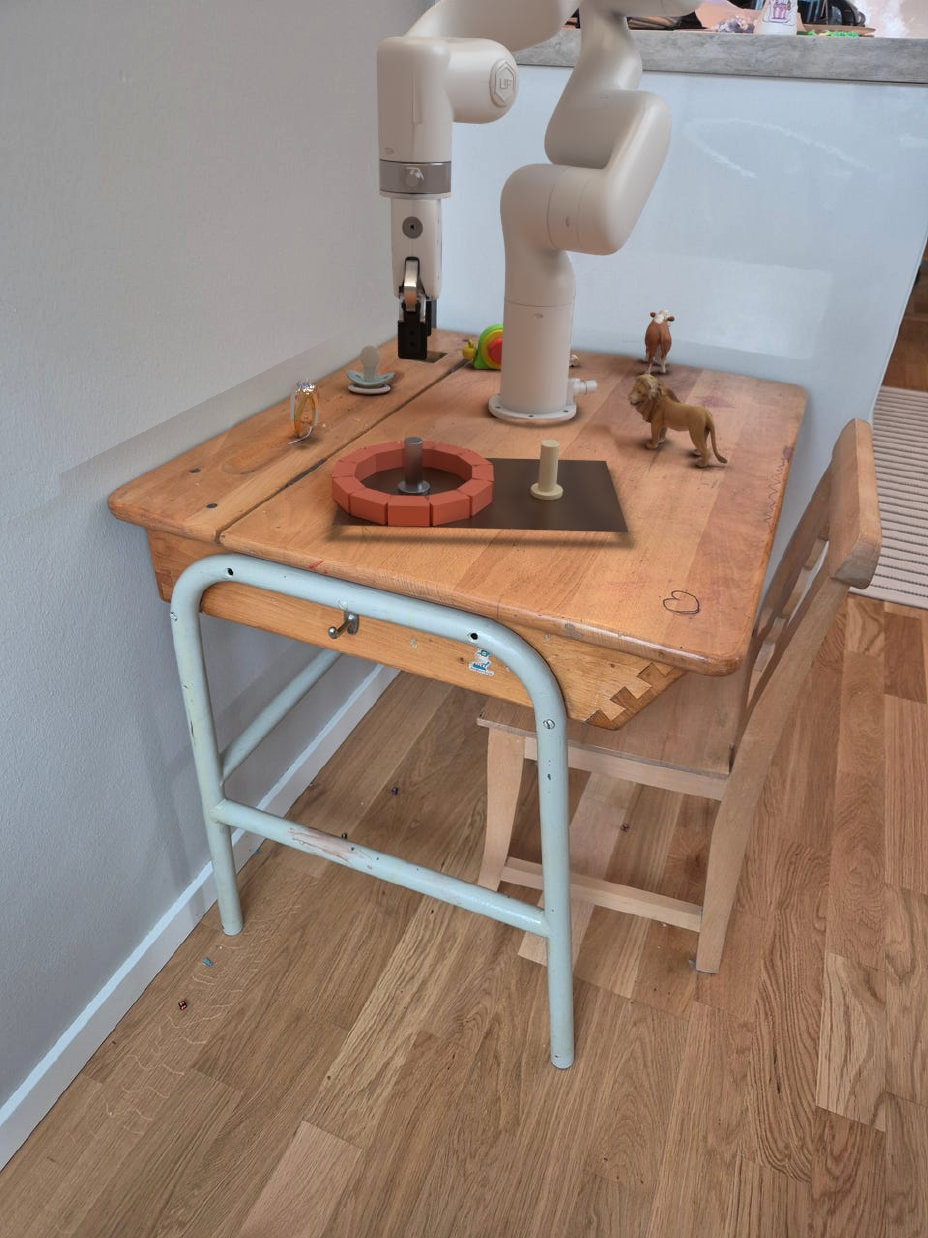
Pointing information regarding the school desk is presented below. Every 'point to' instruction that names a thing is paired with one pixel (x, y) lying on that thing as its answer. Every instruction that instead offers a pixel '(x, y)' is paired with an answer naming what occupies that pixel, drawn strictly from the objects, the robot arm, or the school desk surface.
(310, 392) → the ring
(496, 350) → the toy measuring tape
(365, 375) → the pacifier
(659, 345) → the bull figurine
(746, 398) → the school desk surface
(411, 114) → the robot arm
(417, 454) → the steel post
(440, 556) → the school desk surface
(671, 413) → the lion figurine
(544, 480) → the cream post
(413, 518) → the ring
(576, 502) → the board
